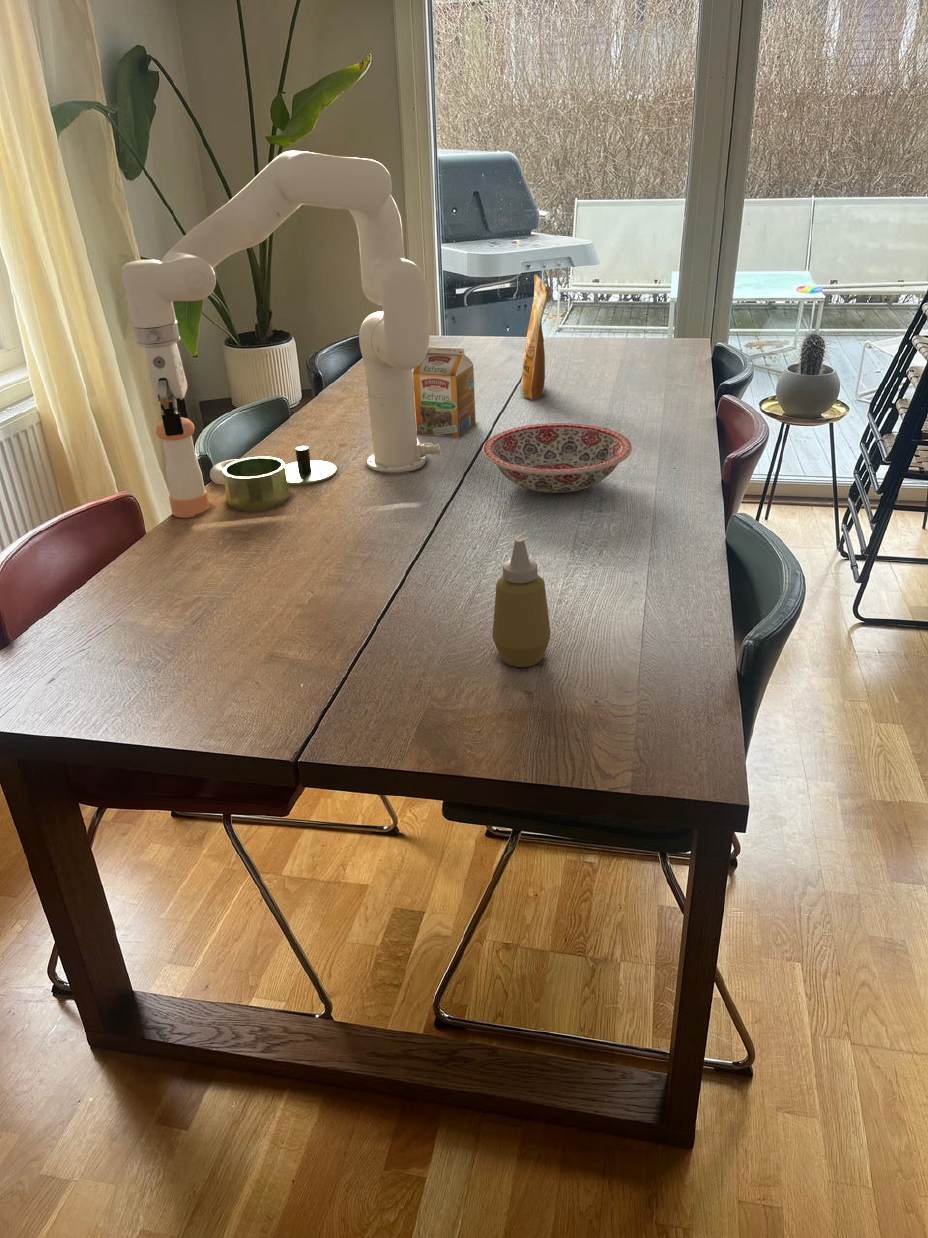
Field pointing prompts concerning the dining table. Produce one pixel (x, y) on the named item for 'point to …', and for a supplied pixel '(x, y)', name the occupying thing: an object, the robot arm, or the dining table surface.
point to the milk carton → (444, 393)
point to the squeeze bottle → (521, 611)
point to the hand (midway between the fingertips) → (177, 426)
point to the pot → (255, 482)
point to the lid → (308, 469)
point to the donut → (220, 471)
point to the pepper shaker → (183, 472)
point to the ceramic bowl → (557, 455)
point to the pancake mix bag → (535, 345)
